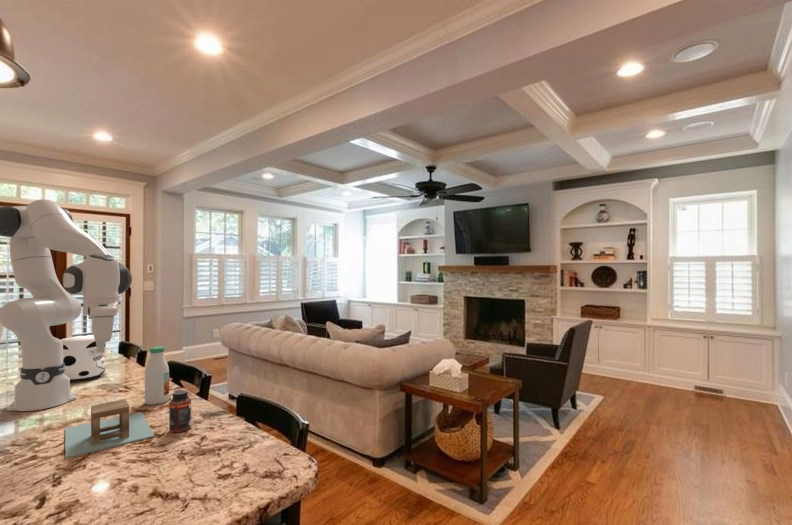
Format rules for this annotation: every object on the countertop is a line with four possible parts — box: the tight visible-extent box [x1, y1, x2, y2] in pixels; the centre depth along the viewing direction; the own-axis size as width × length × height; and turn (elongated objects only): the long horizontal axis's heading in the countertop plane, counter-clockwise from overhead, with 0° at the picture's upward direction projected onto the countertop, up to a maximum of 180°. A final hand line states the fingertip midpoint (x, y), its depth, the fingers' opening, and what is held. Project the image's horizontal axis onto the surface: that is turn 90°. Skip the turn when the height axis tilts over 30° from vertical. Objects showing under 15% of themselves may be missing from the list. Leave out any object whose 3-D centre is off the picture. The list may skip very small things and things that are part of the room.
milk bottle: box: [144, 346, 170, 406], centre depth 146 cm, size 8×8×20 cm
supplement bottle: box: [168, 389, 192, 433], centre depth 121 cm, size 6×6×11 cm
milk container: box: [60, 334, 107, 382], centre depth 177 cm, size 17×17×18 cm
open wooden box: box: [90, 398, 130, 445], centre depth 115 cm, size 9×8×8 cm
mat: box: [64, 412, 156, 459], centre depth 118 cm, size 24×20×1 cm
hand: (100, 352), depth 122 cm, fingers closed
